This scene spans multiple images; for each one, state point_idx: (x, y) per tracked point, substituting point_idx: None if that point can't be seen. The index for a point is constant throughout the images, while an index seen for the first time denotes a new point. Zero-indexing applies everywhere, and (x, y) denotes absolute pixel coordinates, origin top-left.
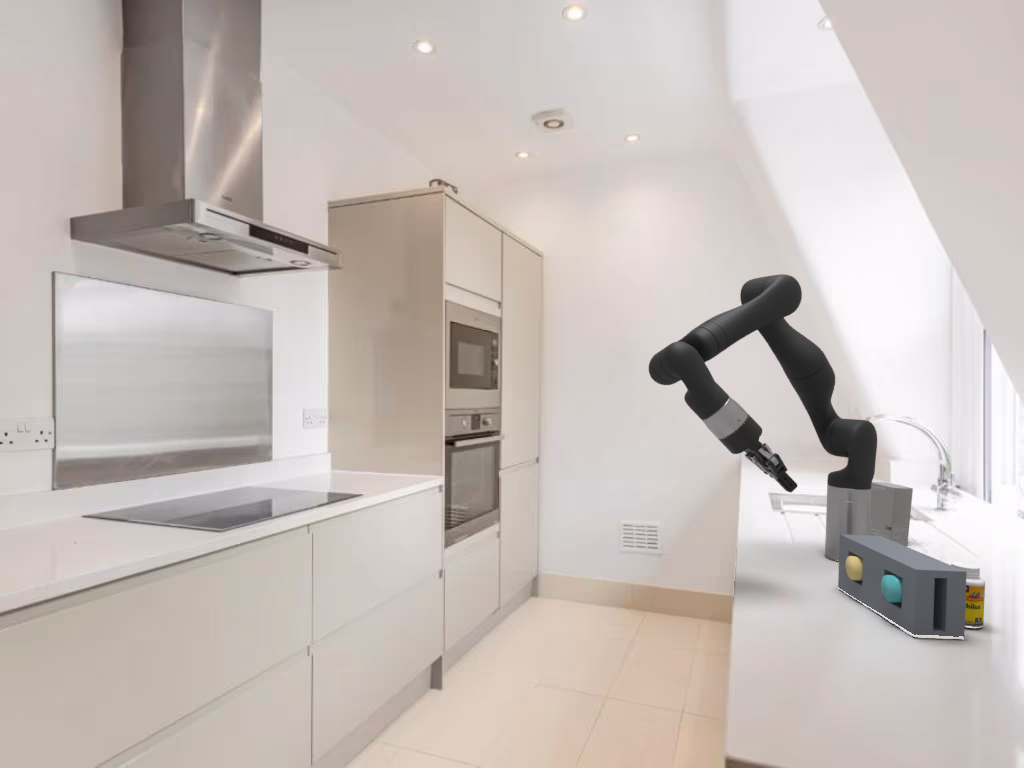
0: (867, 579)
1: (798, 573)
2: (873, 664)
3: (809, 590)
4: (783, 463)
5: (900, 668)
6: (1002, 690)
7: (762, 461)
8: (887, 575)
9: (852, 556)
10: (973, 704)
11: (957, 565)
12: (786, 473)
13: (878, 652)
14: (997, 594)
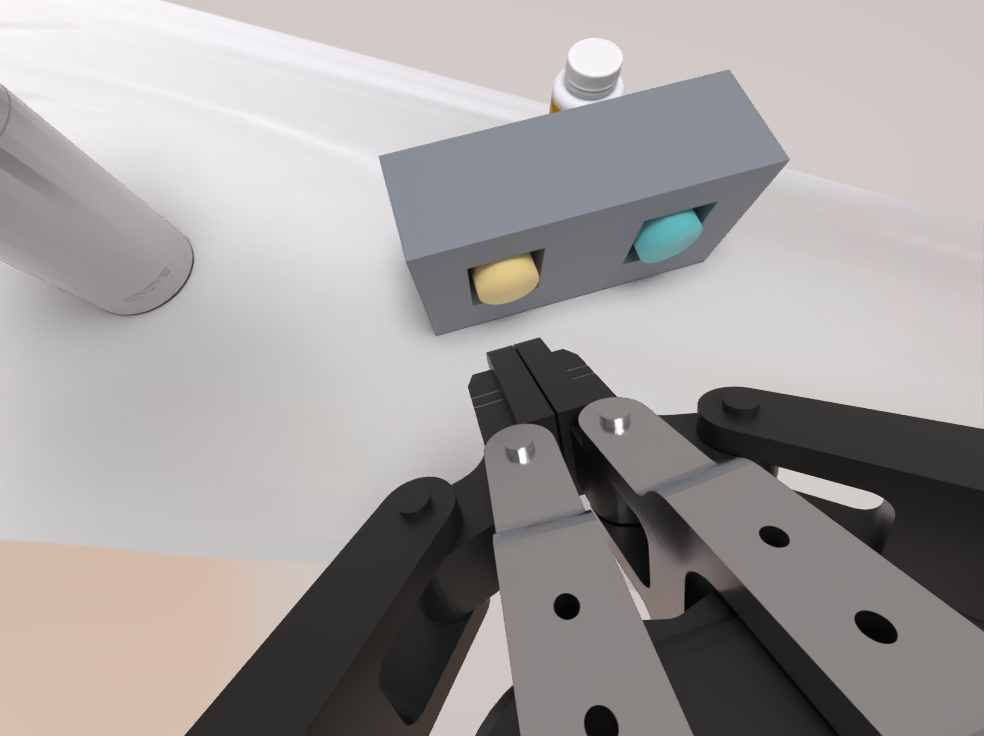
0: (563, 269)
1: (320, 408)
2: (894, 355)
3: (471, 401)
4: (972, 431)
5: (881, 316)
6: (871, 202)
7: None
8: (678, 226)
9: (509, 269)
10: (960, 253)
11: (612, 71)
12: (586, 395)
13: (823, 335)
14: (353, 72)
